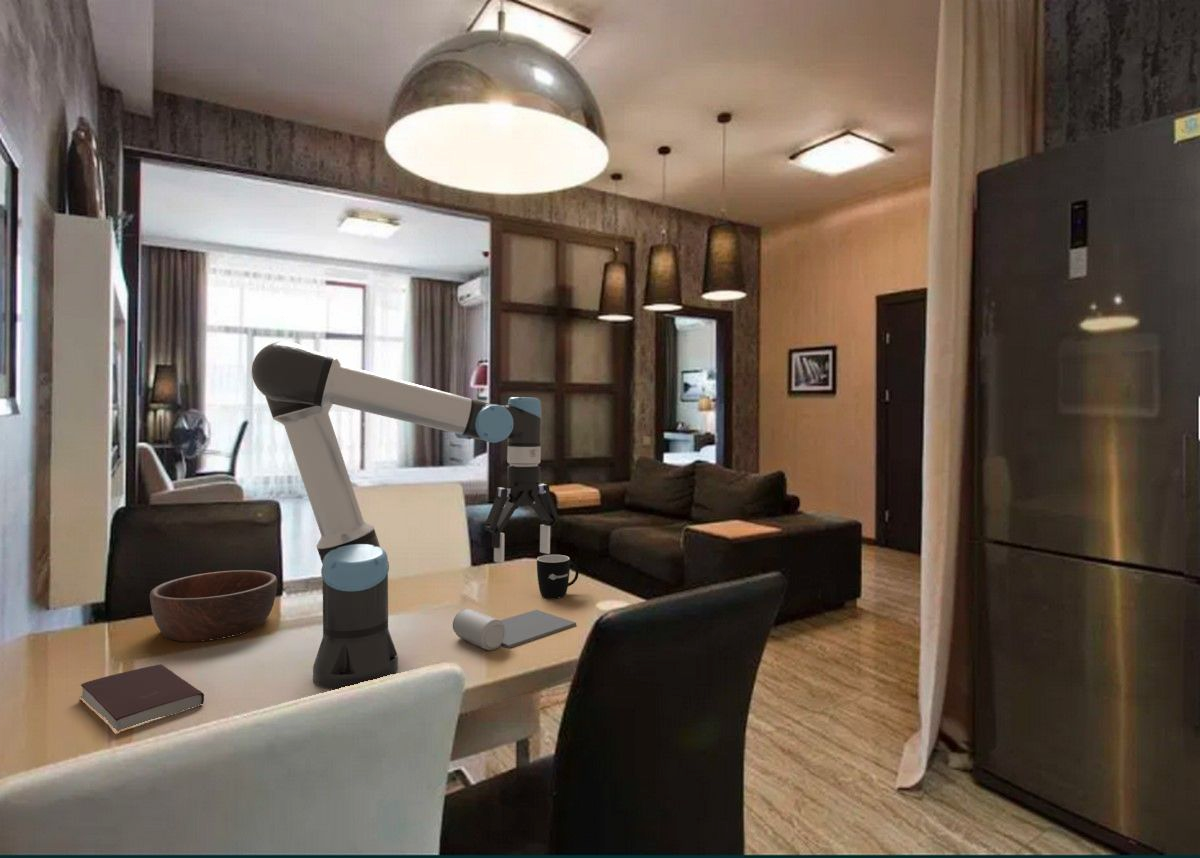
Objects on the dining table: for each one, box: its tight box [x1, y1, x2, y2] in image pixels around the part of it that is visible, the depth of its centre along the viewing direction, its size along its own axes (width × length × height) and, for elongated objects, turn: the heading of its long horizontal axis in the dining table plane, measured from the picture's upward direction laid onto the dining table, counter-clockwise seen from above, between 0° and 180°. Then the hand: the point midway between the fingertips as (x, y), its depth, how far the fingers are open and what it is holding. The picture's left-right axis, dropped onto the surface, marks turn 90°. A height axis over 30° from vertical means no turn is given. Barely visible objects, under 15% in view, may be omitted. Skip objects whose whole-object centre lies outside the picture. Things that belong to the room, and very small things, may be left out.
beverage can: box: [452, 608, 506, 651], centre depth 137 cm, size 6×6×12 cm
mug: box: [536, 554, 580, 599], centre depth 173 cm, size 12×9×10 cm
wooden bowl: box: [149, 569, 278, 642], centre depth 146 cm, size 25×25×10 cm
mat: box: [499, 609, 577, 649], centre depth 146 cm, size 20×14×1 cm
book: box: [80, 663, 205, 731], centre depth 109 cm, size 12×19×3 cm, turn 52°
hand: (522, 557), depth 146 cm, fingers open, 13 cm apart
